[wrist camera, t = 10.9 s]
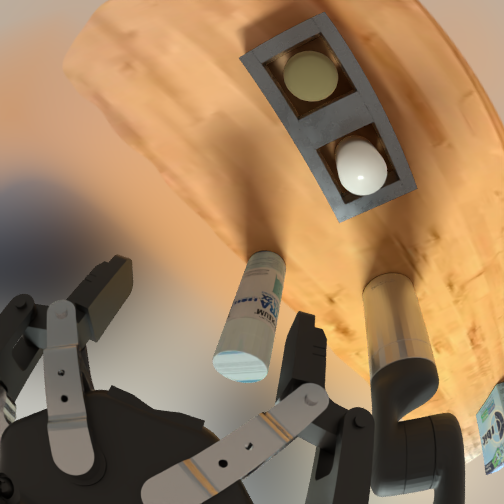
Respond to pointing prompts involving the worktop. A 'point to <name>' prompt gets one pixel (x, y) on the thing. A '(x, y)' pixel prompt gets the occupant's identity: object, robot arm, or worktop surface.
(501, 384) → the gum box
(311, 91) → the cork
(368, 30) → the worktop surface
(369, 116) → the cinder block
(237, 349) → the spray paint can
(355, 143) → the salt cellar
